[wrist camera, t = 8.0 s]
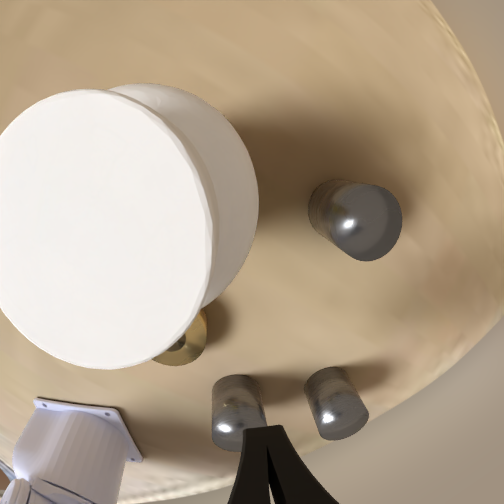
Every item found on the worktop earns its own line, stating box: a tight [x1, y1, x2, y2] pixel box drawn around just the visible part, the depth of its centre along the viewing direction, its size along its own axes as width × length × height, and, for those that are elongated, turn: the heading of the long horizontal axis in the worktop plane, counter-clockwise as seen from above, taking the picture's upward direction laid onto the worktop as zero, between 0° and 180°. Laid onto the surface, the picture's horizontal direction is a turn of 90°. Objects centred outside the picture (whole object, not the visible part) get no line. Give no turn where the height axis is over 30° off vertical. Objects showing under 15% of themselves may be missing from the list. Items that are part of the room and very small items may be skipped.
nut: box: [152, 308, 207, 366], centre depth 17 cm, size 4×4×2 cm
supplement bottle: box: [0, 83, 259, 369], centre depth 10 cm, size 7×7×13 cm
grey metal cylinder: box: [308, 180, 402, 261], centre depth 15 cm, size 4×4×4 cm
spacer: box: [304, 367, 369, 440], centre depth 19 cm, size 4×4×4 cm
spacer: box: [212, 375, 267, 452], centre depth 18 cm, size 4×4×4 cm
